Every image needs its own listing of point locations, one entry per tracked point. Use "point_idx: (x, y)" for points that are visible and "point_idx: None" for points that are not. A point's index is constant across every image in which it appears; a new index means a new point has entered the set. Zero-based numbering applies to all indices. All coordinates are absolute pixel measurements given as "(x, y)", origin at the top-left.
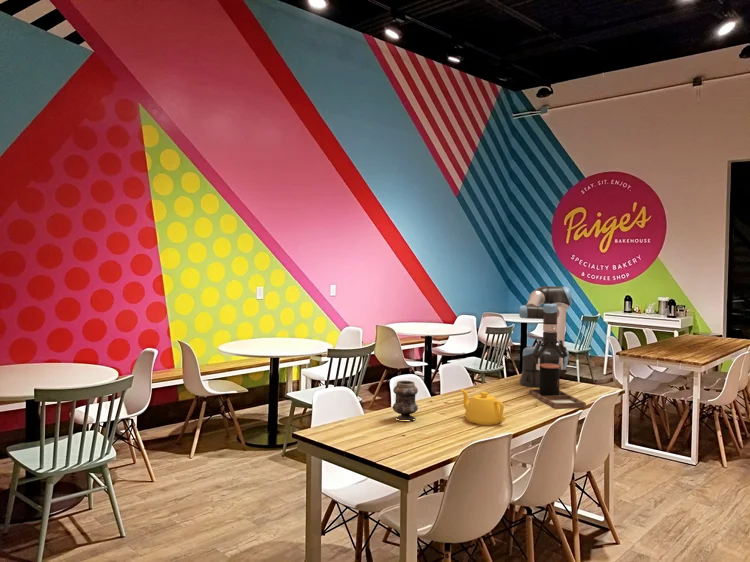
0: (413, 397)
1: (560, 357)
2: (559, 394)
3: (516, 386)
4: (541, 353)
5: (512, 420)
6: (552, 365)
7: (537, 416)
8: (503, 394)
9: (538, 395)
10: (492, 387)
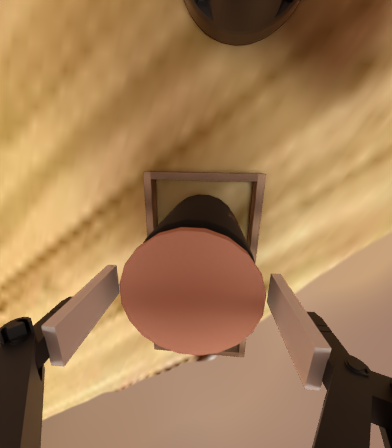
0: None
1: (319, 359)
2: (251, 212)
3: (146, 12)
4: (36, 433)
5: None
6: (204, 317)
7: (95, 373)
8: (58, 165)
9: None
10: (32, 23)
